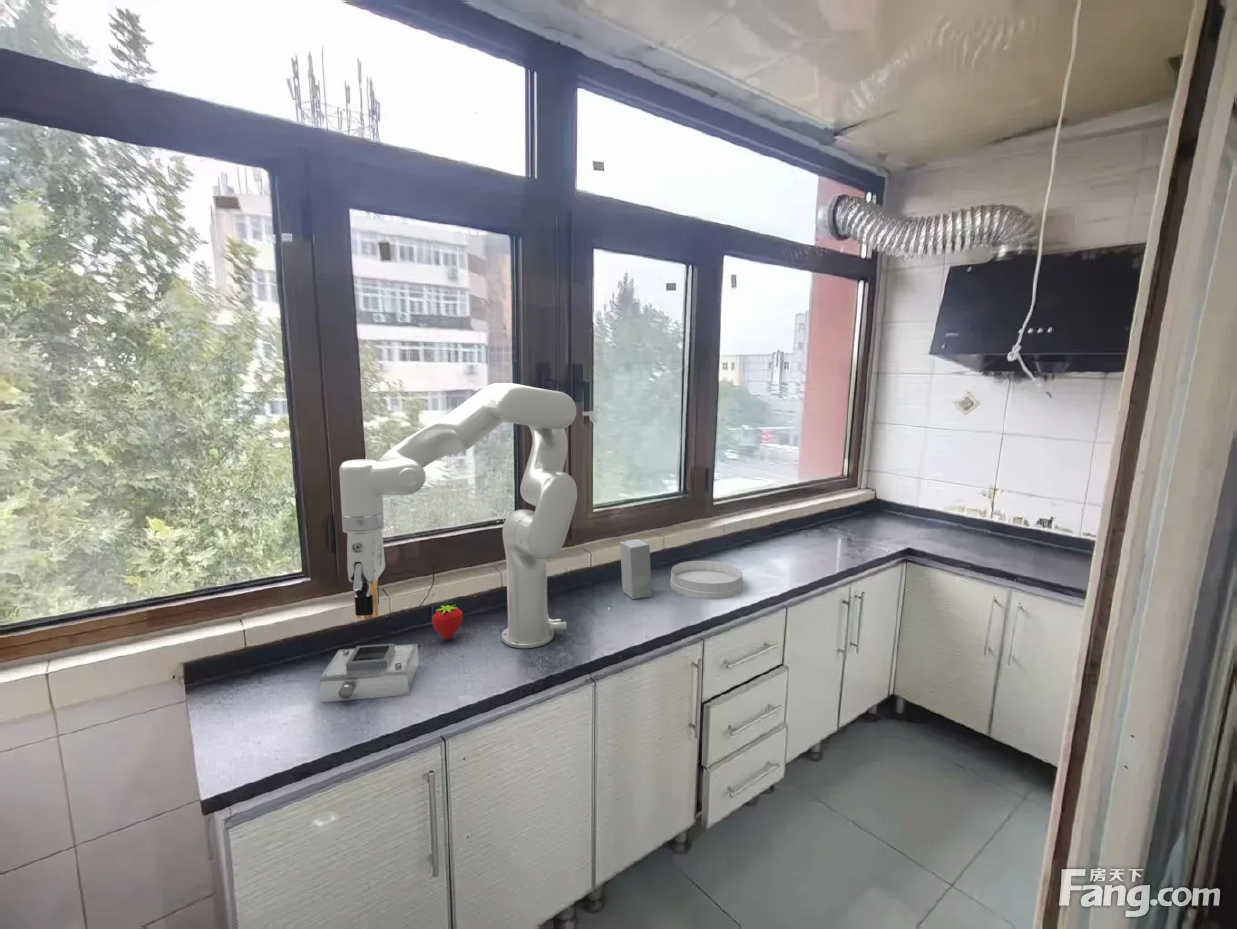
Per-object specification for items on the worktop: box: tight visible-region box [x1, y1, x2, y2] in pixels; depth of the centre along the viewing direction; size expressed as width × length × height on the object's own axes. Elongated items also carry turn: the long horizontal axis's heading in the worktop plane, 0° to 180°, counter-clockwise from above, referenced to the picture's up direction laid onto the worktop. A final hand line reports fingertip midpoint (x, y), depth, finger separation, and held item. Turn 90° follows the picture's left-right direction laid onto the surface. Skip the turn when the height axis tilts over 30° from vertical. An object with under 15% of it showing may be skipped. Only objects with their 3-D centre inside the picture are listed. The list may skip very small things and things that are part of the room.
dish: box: [669, 560, 744, 600], centre depth 173 cm, size 22×22×5 cm
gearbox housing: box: [319, 643, 420, 703], centre depth 114 cm, size 16×14×6 cm
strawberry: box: [431, 600, 464, 641], centre depth 135 cm, size 6×8×10 cm
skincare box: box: [619, 538, 653, 600], centre depth 165 cm, size 8×7×16 cm
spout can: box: [356, 578, 379, 620], centre depth 113 cm, size 4×4×10 cm
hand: (367, 609), depth 113 cm, fingers closed on spout can, 4 cm apart
